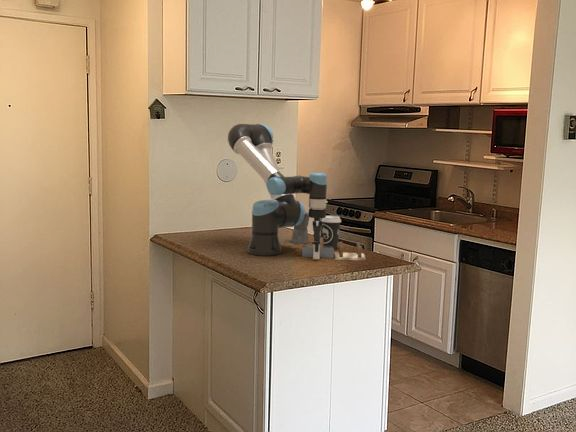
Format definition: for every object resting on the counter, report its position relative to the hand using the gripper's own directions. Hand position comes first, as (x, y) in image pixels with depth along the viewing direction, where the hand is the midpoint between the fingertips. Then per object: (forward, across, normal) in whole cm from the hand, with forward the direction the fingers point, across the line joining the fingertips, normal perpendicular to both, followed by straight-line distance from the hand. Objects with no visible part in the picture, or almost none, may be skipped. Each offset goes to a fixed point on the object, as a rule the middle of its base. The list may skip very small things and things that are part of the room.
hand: (316, 256), depth 274 cm
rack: (0, 0, -15) cm, 15 cm away
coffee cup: (0, +20, -7) cm, 21 cm away
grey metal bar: (0, 0, 0) cm, 0 cm away
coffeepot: (0, +34, +8) cm, 35 cm away
